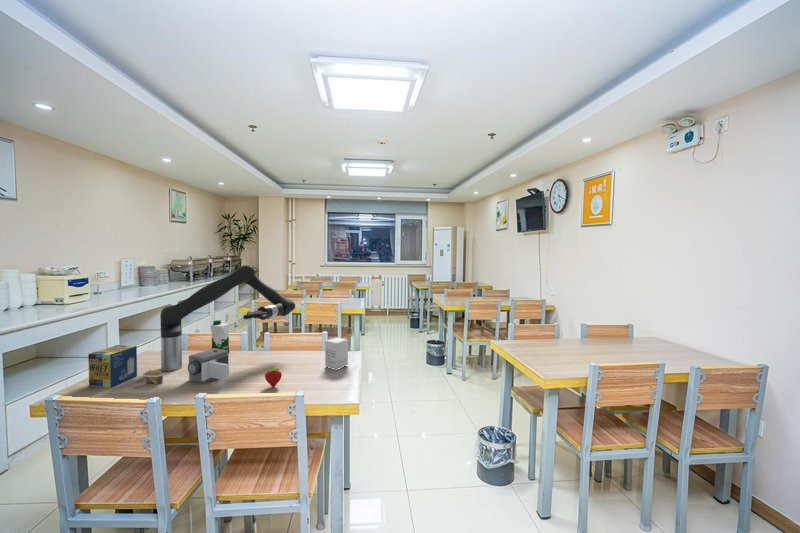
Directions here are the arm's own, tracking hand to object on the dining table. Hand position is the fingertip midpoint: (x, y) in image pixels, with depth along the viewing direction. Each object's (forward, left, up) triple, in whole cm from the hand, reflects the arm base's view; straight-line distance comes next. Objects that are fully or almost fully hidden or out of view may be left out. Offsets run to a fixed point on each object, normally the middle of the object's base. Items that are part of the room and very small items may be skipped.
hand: (244, 317), depth 181 cm
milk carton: (-7, +39, -28) cm, 48 cm away
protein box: (-55, +16, -28) cm, 63 cm away
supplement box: (+42, -21, -28) cm, 55 cm away
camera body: (-17, -2, -28) cm, 33 cm away
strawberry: (+6, -31, -28) cm, 43 cm away
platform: (-39, +3, -29) cm, 49 cm away
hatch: (-14, -14, -26) cm, 33 cm away
